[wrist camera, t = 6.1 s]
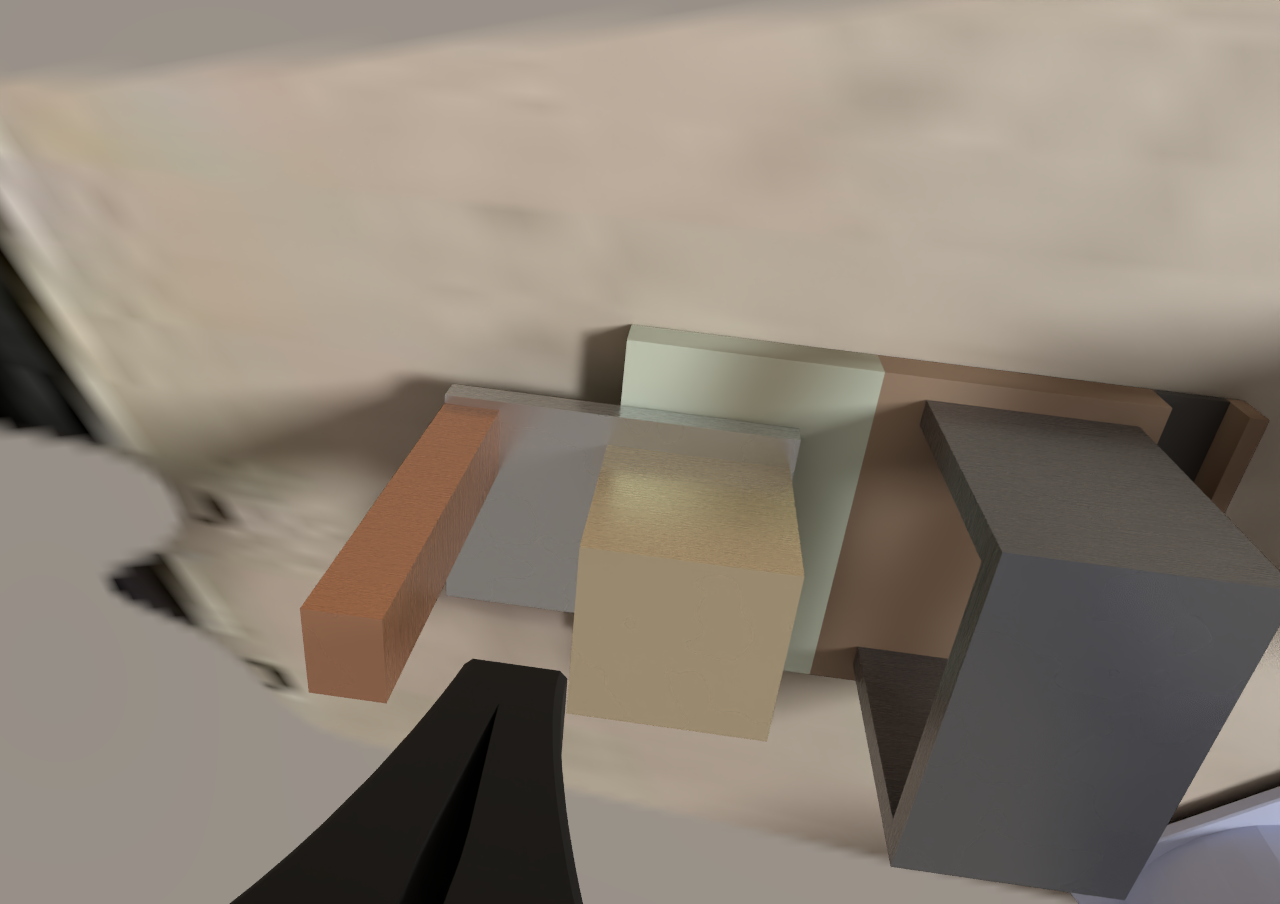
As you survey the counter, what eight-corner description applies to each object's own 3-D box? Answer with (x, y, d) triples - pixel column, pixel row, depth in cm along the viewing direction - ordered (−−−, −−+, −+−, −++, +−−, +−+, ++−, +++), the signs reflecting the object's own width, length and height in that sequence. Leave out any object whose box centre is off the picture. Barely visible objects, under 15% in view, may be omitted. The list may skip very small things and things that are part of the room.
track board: (1244, 401, 19) (1269, 420, 18) (1109, 689, 23) (1124, 717, 22) (631, 324, 19) (627, 339, 18) (602, 620, 23) (597, 645, 22)
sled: (799, 428, 19) (838, 671, 12) (758, 622, 22) (773, 915, 15) (452, 384, 19) (298, 597, 12) (453, 580, 22) (326, 850, 15)
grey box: (1139, 426, 18) (1299, 590, 13) (1031, 688, 22) (1124, 900, 17) (926, 400, 19) (1002, 552, 13) (852, 664, 22) (891, 867, 17)
